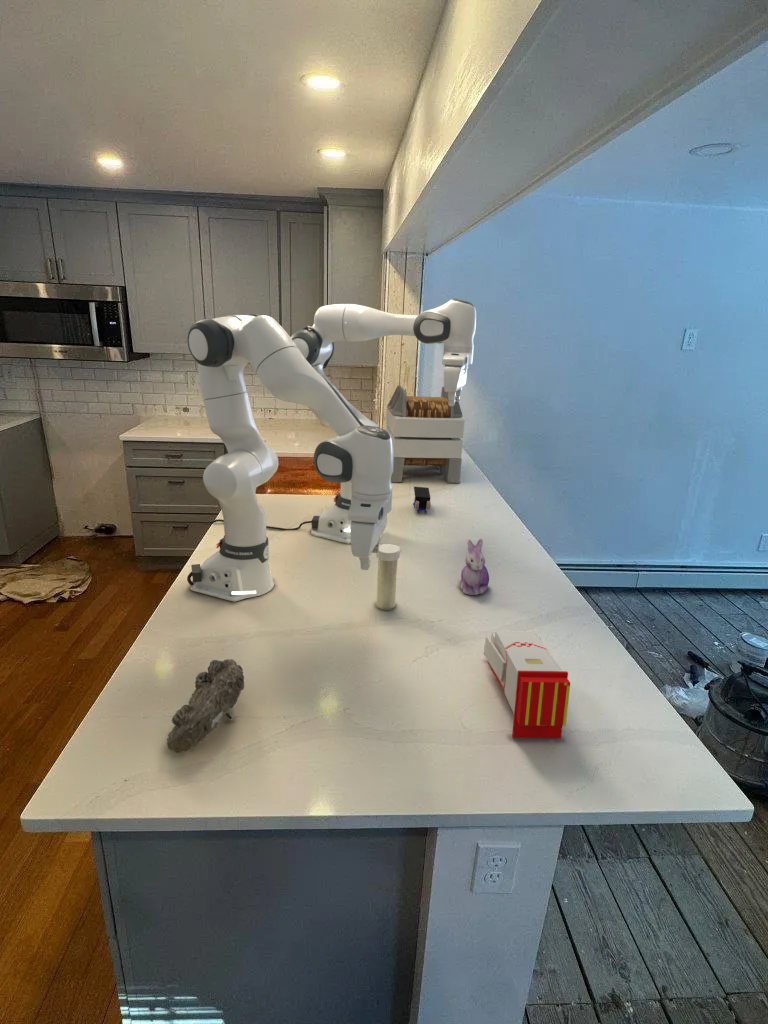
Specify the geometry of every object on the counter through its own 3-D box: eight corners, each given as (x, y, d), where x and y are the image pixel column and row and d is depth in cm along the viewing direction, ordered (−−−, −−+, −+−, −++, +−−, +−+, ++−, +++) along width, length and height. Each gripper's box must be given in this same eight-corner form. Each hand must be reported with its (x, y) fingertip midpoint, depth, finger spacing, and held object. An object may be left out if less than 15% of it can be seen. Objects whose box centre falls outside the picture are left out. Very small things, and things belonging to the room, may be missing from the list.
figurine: (471, 599, 156) (476, 549, 151) (450, 583, 165) (454, 536, 160) (498, 593, 160) (504, 544, 155) (476, 578, 169) (481, 531, 164)
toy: (532, 614, 131) (579, 678, 101) (527, 667, 134) (572, 745, 104) (479, 613, 130) (512, 677, 101) (476, 667, 133) (506, 744, 104)
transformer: (382, 463, 289) (386, 382, 275) (445, 464, 293) (451, 384, 279) (390, 482, 257) (394, 392, 243) (460, 483, 261) (468, 394, 247)
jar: (392, 600, 154) (395, 545, 149) (396, 609, 150) (400, 553, 144) (374, 601, 153) (376, 546, 148) (378, 610, 149) (381, 554, 143)
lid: (396, 551, 150) (396, 543, 149) (402, 560, 145) (402, 552, 144) (374, 552, 149) (374, 544, 148) (379, 562, 143) (379, 553, 143)
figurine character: (431, 519, 219) (427, 502, 232) (432, 501, 216) (429, 485, 229) (413, 518, 219) (411, 501, 232) (415, 500, 215) (412, 484, 229)
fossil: (192, 660, 117) (244, 628, 112) (224, 691, 120) (276, 661, 115) (142, 746, 98) (202, 712, 93) (182, 779, 101) (242, 748, 96)
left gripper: (368, 487, 133) (367, 541, 138) (345, 515, 114) (344, 577, 119) (394, 489, 132) (392, 544, 137) (376, 518, 113) (374, 581, 118)
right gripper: (453, 354, 180) (449, 398, 185) (441, 358, 161) (437, 407, 166) (473, 355, 178) (468, 399, 183) (463, 360, 160) (459, 409, 164)
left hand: (370, 559), depth 128 cm, fingers open, 8 cm apart
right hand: (454, 403), depth 174 cm, fingers open, 8 cm apart
